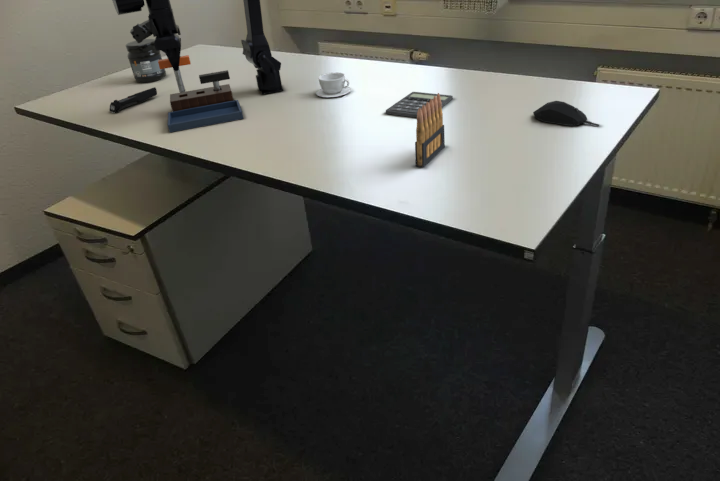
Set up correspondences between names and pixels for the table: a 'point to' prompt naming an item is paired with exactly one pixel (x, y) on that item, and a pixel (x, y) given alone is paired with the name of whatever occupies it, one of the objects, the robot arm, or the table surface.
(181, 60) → the t handle
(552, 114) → the gaming mouse
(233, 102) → the tray
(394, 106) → the calculator
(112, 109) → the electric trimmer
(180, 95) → the rack
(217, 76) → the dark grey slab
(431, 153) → the ammunition clip
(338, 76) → the teacup
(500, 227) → the table surface
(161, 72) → the supplement container
